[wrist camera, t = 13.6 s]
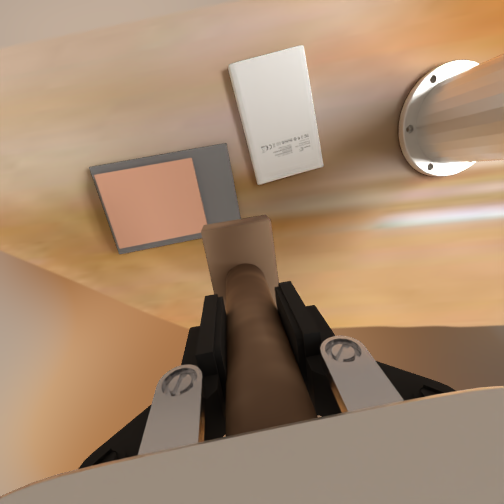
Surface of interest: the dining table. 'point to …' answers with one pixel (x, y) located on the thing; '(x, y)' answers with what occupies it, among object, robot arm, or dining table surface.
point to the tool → (254, 328)
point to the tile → (152, 202)
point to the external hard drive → (277, 113)
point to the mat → (209, 180)
